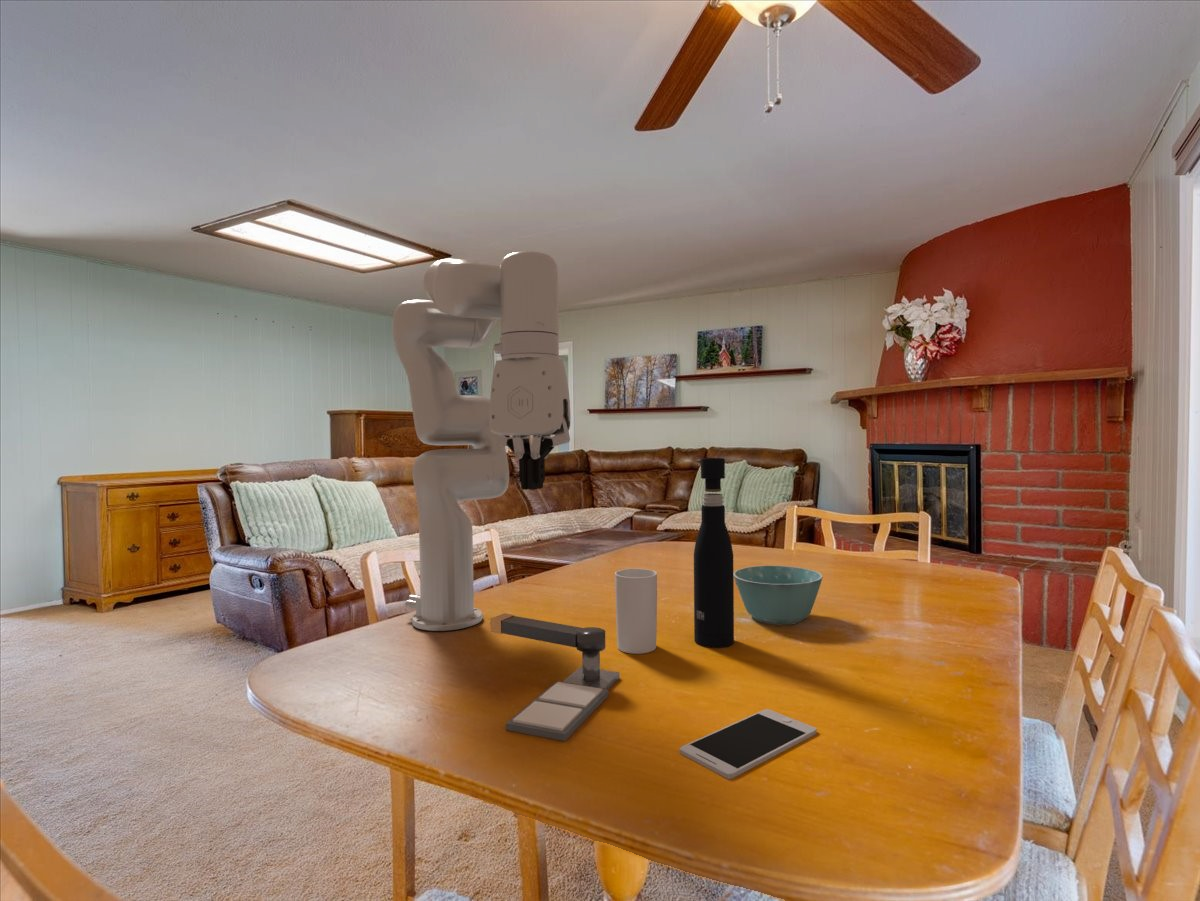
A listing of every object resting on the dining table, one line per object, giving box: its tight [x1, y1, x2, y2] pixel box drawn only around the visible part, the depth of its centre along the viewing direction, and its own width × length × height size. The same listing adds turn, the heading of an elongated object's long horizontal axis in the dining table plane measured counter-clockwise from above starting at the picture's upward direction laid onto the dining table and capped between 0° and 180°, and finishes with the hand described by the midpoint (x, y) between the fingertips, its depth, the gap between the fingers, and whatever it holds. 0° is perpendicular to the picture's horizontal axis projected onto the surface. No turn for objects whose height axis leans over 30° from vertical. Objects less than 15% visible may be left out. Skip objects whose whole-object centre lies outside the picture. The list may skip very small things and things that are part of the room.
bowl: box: [733, 565, 823, 626], centre depth 117 cm, size 16×16×8 cm
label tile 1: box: [505, 700, 590, 742], centre depth 76 cm, size 8×7×1 cm
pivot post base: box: [562, 651, 620, 691], centre depth 88 cm, size 6×6×4 cm
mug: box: [614, 567, 658, 655], centre depth 103 cm, size 10×7×12 cm, turn 21°
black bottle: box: [693, 457, 735, 649], centre depth 104 cm, size 6×6×30 cm
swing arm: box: [489, 613, 606, 653], centre depth 91 cm, size 18×4×2 cm, turn 59°
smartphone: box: [679, 708, 818, 780], centre depth 71 cm, size 7×15×1 cm, turn 128°
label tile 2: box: [532, 681, 609, 718], centre depth 82 cm, size 8×7×1 cm
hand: (532, 488), depth 85 cm, fingers closed
